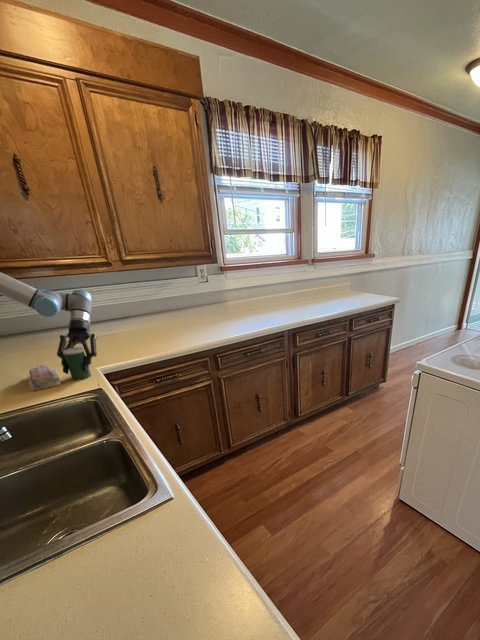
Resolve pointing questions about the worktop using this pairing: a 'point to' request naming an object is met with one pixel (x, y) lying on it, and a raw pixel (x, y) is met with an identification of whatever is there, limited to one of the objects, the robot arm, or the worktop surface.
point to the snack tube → (76, 363)
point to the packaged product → (42, 378)
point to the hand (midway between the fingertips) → (75, 371)
